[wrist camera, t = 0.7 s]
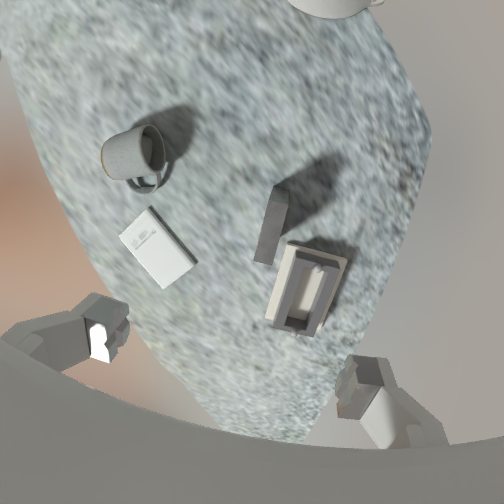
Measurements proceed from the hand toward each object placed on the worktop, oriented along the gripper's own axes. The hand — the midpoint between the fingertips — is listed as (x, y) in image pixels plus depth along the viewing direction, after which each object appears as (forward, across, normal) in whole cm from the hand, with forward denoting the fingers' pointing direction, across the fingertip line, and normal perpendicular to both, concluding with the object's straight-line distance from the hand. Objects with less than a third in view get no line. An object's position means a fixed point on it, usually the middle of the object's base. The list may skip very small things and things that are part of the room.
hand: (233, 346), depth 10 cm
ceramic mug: (+37, +21, -1) cm, 43 cm away
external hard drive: (+38, +18, +14) cm, 44 cm away
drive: (+37, 0, +4) cm, 37 cm away
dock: (+37, -8, +15) cm, 41 cm away
